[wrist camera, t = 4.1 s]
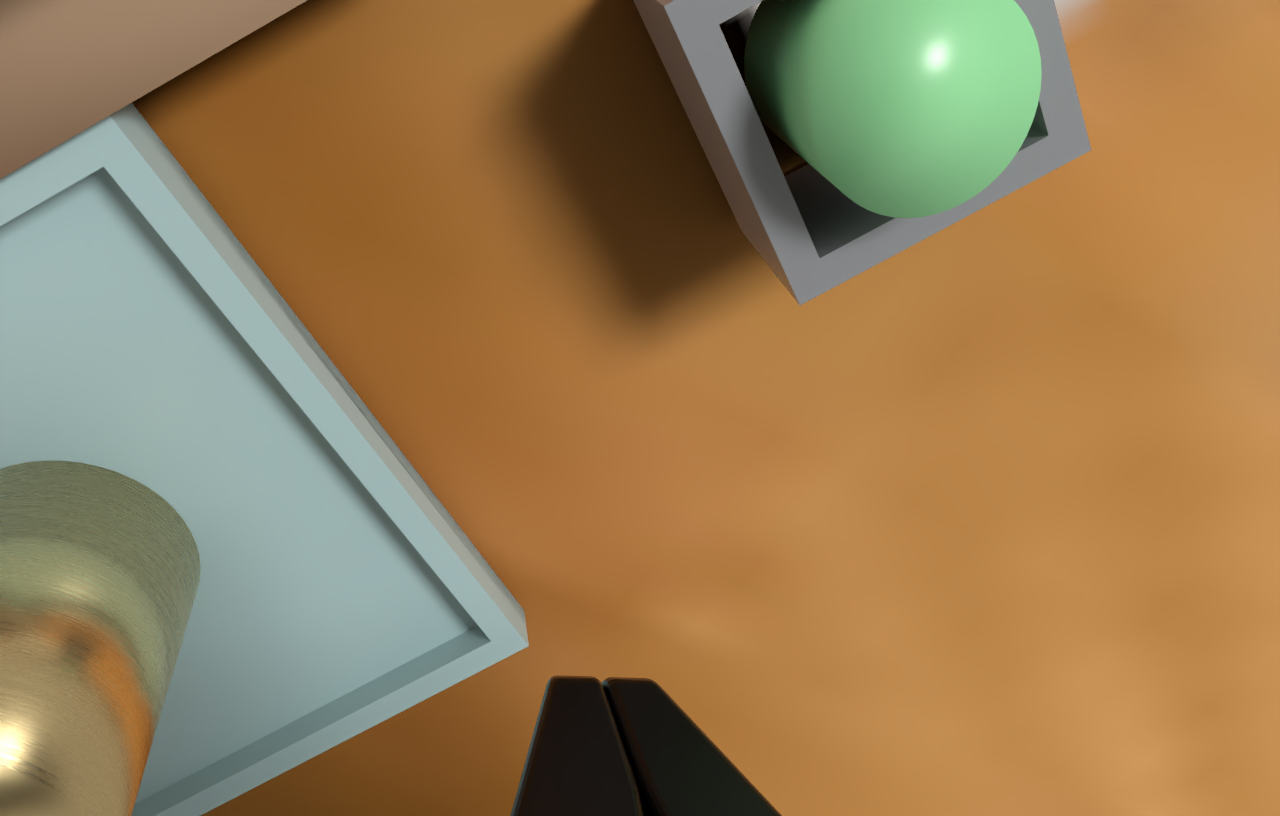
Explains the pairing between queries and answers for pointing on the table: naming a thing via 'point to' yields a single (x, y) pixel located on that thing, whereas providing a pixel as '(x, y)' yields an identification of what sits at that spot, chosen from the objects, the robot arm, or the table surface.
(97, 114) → the brown compartment tray
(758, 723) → the table surface
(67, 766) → the cylinder
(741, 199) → the button housing
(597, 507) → the table surface
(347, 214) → the table surface
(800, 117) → the button
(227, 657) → the light blue square tray
